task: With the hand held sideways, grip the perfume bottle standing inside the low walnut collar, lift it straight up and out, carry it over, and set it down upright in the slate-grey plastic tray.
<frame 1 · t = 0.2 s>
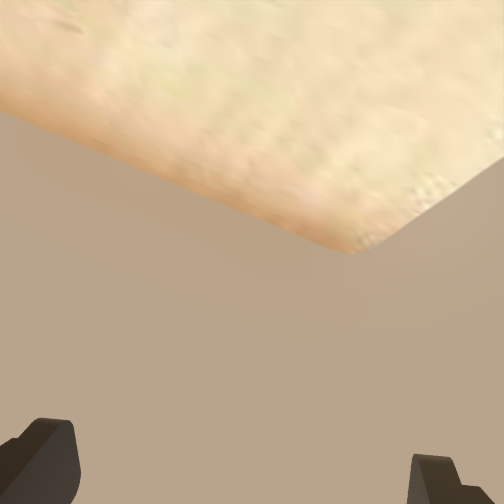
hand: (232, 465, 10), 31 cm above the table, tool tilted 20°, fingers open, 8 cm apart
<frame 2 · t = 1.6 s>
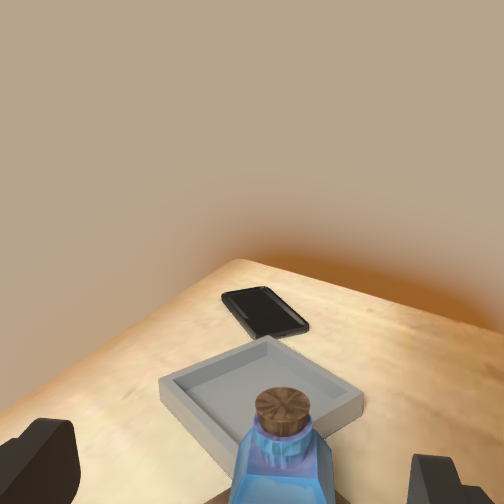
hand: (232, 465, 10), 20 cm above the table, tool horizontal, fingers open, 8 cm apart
phone: (261, 316, 64), on the table
grey tray: (258, 407, 44), on the table
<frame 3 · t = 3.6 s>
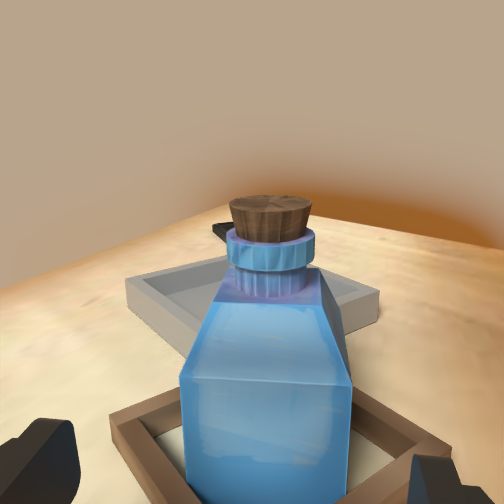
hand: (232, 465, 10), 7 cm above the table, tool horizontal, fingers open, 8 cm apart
perfume bottle: (270, 461, 21), resting in walnut collar
phone: (257, 245, 55), on the table
grey tray: (247, 313, 35), on the table
walnut collar: (270, 456, 21), on the table
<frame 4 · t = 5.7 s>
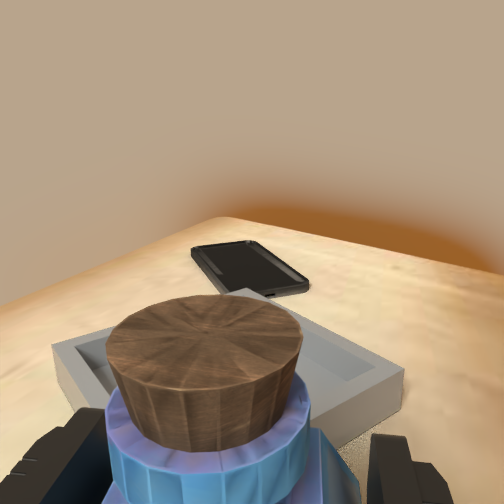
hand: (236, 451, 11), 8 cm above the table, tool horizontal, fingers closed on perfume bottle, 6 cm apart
phone: (243, 275, 45), on the table
grey tray: (219, 394, 25), on the table
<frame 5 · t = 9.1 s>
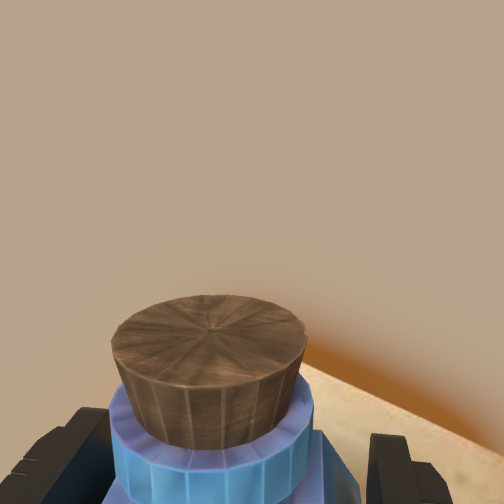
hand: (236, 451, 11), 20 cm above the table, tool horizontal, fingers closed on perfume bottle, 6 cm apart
when the fingers open (9 cm above the table, at t = 12.1 s): perfume bottle drops 1 cm, resting on grey tray.
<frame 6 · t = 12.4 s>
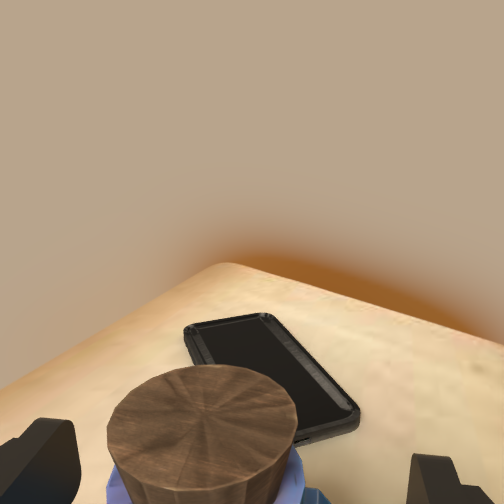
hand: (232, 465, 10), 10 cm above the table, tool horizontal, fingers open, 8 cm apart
phone: (257, 379, 31), on the table
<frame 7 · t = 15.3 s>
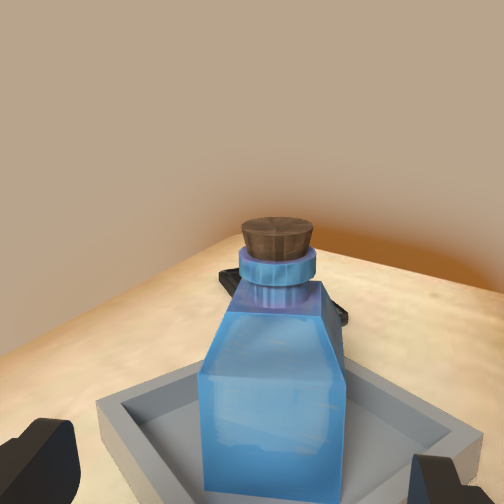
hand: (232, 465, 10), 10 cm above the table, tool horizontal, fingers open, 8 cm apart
perfume bottle: (276, 452, 23), resting on grey tray
phone: (275, 303, 44), on the table
grey tray: (277, 455, 24), on the table
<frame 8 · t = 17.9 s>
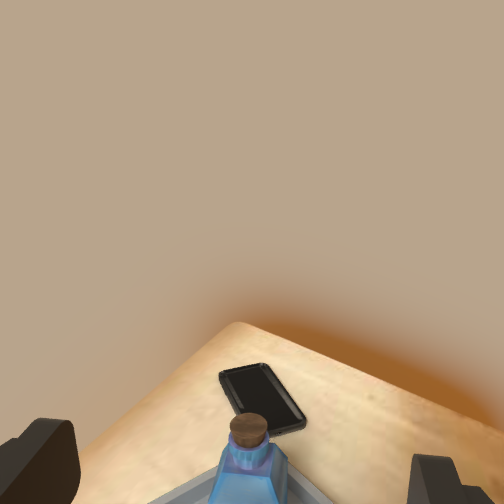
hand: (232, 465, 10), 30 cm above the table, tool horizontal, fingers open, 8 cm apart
phone: (258, 403, 61), on the table
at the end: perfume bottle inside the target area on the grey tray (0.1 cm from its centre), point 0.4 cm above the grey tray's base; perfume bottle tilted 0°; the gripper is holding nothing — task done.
